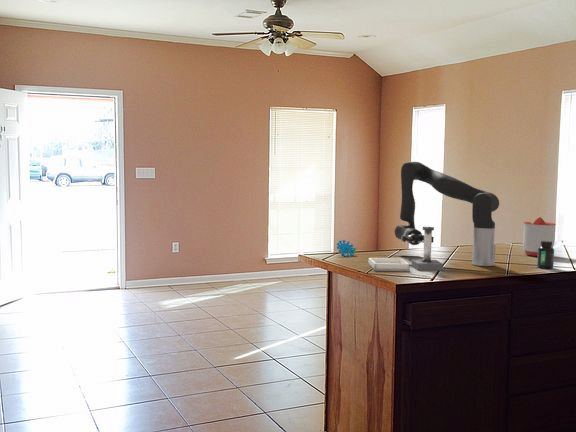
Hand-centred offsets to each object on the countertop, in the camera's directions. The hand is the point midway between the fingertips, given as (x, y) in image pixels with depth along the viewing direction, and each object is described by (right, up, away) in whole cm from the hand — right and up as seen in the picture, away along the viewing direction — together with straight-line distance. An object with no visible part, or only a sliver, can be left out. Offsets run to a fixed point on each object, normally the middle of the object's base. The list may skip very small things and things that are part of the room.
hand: (420, 240), depth 281 cm
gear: (-32, -9, +23) cm, 40 cm away
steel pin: (0, -12, -10) cm, 16 cm away
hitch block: (0, -12, -10) cm, 16 cm away
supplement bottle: (+56, -12, -2) cm, 57 cm away
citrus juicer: (+69, -9, +39) cm, 80 cm away
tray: (-17, -11, -11) cm, 23 cm away
